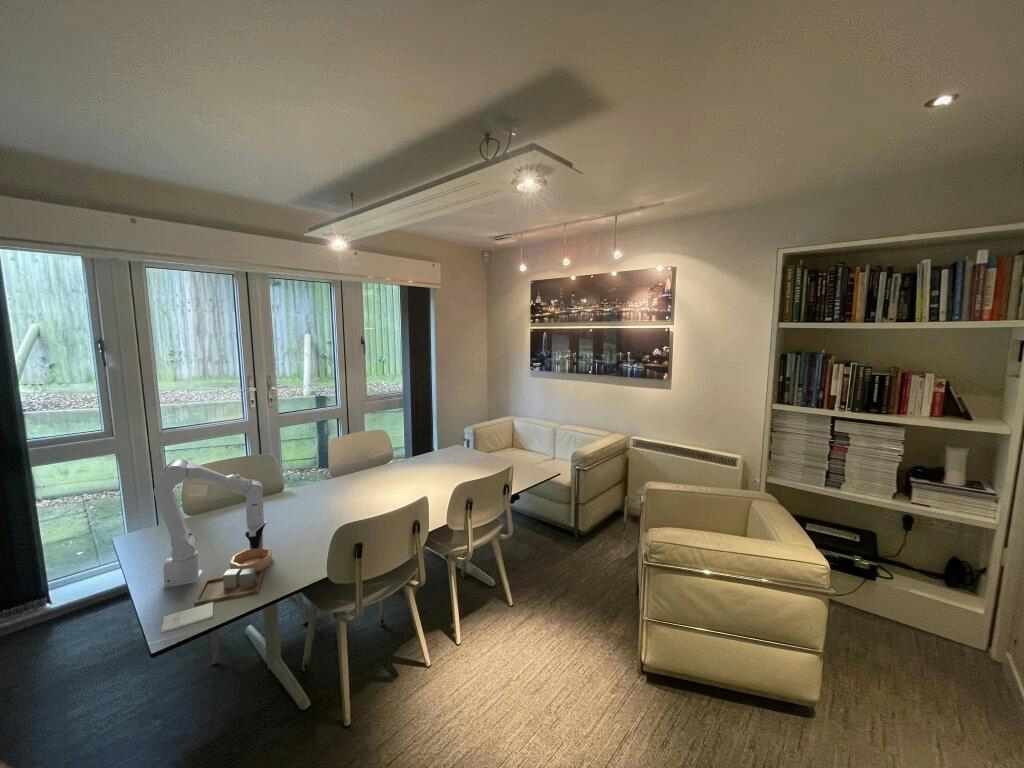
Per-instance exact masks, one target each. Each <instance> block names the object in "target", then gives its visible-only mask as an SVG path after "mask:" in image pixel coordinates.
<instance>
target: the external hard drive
mask: <svg viewBox="0 0 1024 768" xmlns="http://www.w3.org/2000/svg"><path fill="white" fill-rule="evenodd" d="M212 618H214V602H209V603H204V604H201V605H199V606H195V607H192V608H188V609H185V610H181V611H178V612H174V613H171V614H167V615H164V617H163V620H162V626H161V630H160V631H161V633H162V634H163V633H166V632H171V631H173V630H176V629H180V628H184V627H186V626H190V625H193V624H196V623H200V622H203V621H205V620H209V619H212Z"/></svg>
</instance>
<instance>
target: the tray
mask: <svg viewBox="0 0 1024 768" xmlns="http://www.w3.org/2000/svg"><path fill="white" fill-rule="evenodd" d="M264 573H265V571H264V569H262V570H258V571H255V574H256V581H255V583H254V585H253V586H252V587H245V588H240V583H239V585H238V586H237V587H236V588H224V586H223V576H219V577H214V578H207V579H205V580H204V582H203V584H202V586H201V588H200V589H199V592H198V594H197V596H196V598H195V600H194V602H193V606H197V605H199V606H200V605H205V604H208V603H212V602H213V603H214V602H219V601H224V600H229V599H234V598H239V597H243V596H244V597H245V596H250V595H255V594H258V593H259V591H260V587H261V584H262V579H263V576H264Z"/></svg>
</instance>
